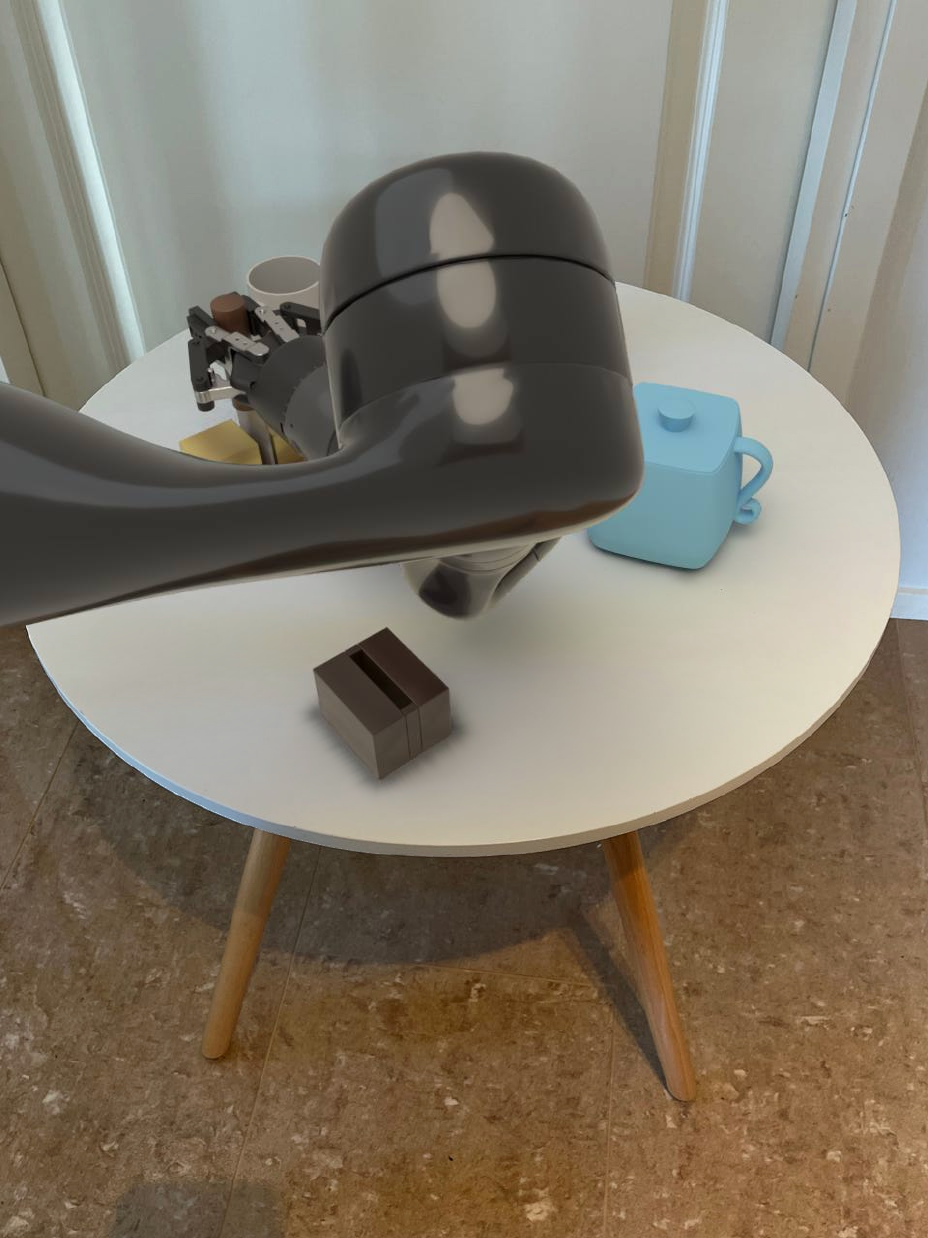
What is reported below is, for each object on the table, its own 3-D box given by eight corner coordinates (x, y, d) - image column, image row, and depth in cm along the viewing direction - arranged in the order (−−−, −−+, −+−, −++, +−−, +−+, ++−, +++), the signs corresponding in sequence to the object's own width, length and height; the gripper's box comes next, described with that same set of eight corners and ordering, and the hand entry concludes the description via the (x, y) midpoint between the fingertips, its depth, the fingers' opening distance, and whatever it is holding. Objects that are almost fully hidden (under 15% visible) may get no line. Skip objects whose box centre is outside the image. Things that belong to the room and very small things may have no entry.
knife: (262, 481, 88) (228, 321, 78) (233, 452, 91) (196, 295, 80) (288, 468, 90) (258, 309, 79) (259, 440, 92) (225, 283, 81)
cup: (351, 353, 103) (341, 268, 97) (281, 403, 98) (266, 317, 92) (296, 330, 106) (283, 247, 100) (225, 378, 101) (207, 293, 94)
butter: (217, 527, 86) (205, 483, 83) (172, 479, 91) (159, 435, 87) (349, 463, 92) (343, 419, 88) (300, 420, 96) (293, 377, 93)
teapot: (559, 452, 92) (564, 337, 84) (767, 495, 88) (795, 377, 79) (513, 544, 84) (515, 426, 76) (740, 596, 80) (768, 478, 71)
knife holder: (379, 781, 69) (372, 735, 65) (321, 715, 73) (312, 668, 69) (452, 735, 71) (449, 688, 68) (392, 673, 75) (386, 626, 72)
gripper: (412, 328, 73) (282, 236, 83) (235, 405, 67) (117, 297, 77) (418, 417, 79) (295, 321, 88) (255, 495, 73) (143, 384, 82)
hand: (213, 310), depth 82 cm, fingers closed
